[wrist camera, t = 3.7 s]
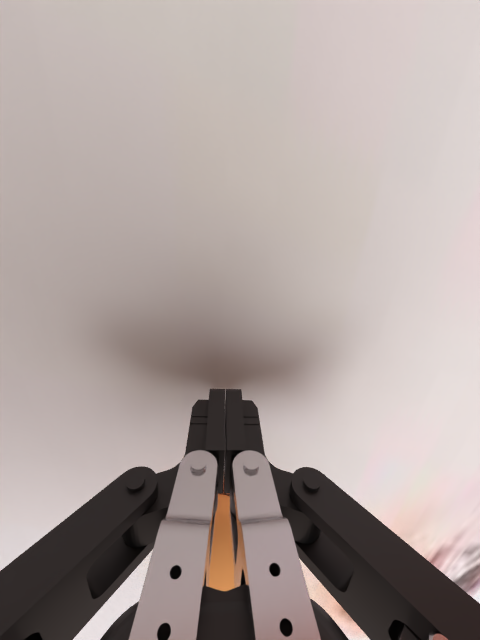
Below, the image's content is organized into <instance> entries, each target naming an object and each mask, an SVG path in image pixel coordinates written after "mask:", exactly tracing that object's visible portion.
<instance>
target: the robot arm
mask: <svg viewBox="0 0 480 640" xmlns="http://www.w3.org/2000/svg"><path fill="white" fill-rule="evenodd" d="M223 476H224V493H230V509H229V518H230V530H231V541H232V553H233V564H234V589H231V590H228V591H220V590H217V589H214V588H211V587H209V574H210V564H211V554H212V544H213V534H214V525H215V514H216V511H217V506H218V493H223ZM152 549H153V552H152V556H151V559H150V563H149V567H148V570H147V574H146V578H145V581H144V585H143V589H142V593H141V596H140V600H139V602H137V603H136V604H134V605H133V606H131V607H130V608H129V609H128V610H127V611H125V612H124V613H123V614H122V615H121V616H120V617H119V618H118V619H117V620H116V621H115V622H114V623H113V624H112V625H111V627H110V628H109V629H108V630H107V632H106V633H105V634H104V635H103V637H102V638H101V639H100V640H349V639H348V638H347V637H346V636H345V634H344V633H343V632H342V630H341V629H340V628H339V627H338V625H337V624H336V623H335V621H334V620H333V619H332V618H331V617H330V615H329V614H328V613H327V612H326V611H325V610H324V609H323V608H322V607H321V606H319V605H318V604H317V603H316V602H315V601H313V600H312V599H310V597H309V593H308V590H307V586H306V582H305V578H304V575H303V571H302V567H301V564H300V560H299V558H300V559H301V561H302V562H303V563H304V564H305V565H306V566H307V567H308V569H309V570H310V571H311V572H312V573H313V574H314V575H315V577H316V578H317V579H318V580H319V581H320V582H321V583H322V585H323V586H324V587H325V588H326V589H327V590H328V591H329V593H330V594H331V595H332V596H333V597H334V598H335V599H336V601H337V602H338V603H339V604H340V605H341V606H342V607H343V609H344V610H345V611H346V612H347V613H348V614H349V615H350V617H351V618H352V619H353V620H354V621H355V622H356V623H357V625H358V626H359V627H360V628H361V629H362V630H363V631H364V633H365V634H366V635H367V636H368V637H369V638H370V640H480V604H479V603H478V602H477V601H476V600H474V599H473V598H472V597H471V596H470V595H468V594H467V593H466V592H465V591H464V590H462V589H461V588H460V587H459V586H458V585H456V584H455V583H454V582H453V581H452V580H450V579H449V578H448V577H447V576H445V575H444V574H443V573H442V572H441V571H439V570H438V569H437V568H436V567H435V566H433V565H432V564H431V563H430V562H429V561H427V560H426V559H425V558H424V557H423V556H421V555H420V554H419V553H418V552H417V551H415V550H414V549H413V548H412V547H411V546H409V545H408V544H407V543H406V542H404V541H403V540H402V539H401V538H400V537H398V536H397V535H396V534H395V533H394V532H392V531H391V530H390V529H389V528H388V527H386V526H385V525H384V524H383V523H382V522H380V521H379V520H378V519H377V518H376V517H374V516H373V515H372V514H371V513H370V512H368V511H367V510H366V509H365V508H363V507H362V506H361V505H360V504H359V503H357V502H356V501H355V500H354V499H353V498H351V497H350V496H349V495H348V494H347V493H345V492H344V491H343V490H342V489H341V488H339V487H338V486H337V485H336V484H335V483H333V482H332V481H331V480H330V479H329V478H327V477H326V476H325V475H324V474H322V473H321V472H320V471H318V470H316V469H314V468H310V467H303V468H299V469H297V470H296V471H295V472H294V473H289V472H286V471H283V470H280V469H278V468H276V467H274V466H273V465H272V464H271V463H270V462H269V461H268V460H267V458H266V456H265V453H264V447H263V441H262V434H261V428H260V421H259V415H258V408H257V407H256V405H255V404H254V403H253V401H252V400H242V393H241V389H226V400H225V389H210V393H209V400H198V401H197V402H196V403H195V405H194V406H193V407H192V414H191V420H190V427H189V433H188V440H187V446H186V452H185V456H184V458H183V459H182V460H181V462H180V463H179V464H178V465H177V466H175V467H174V468H172V469H170V470H167V471H164V472H160V473H157V474H155V472H154V471H153V470H152V469H150V468H148V467H135V468H132V469H130V470H128V471H126V472H125V473H123V474H122V475H121V476H119V477H118V478H117V479H116V480H114V481H113V482H112V483H111V484H109V485H108V486H107V487H106V488H104V489H103V490H102V491H101V492H99V493H98V494H97V495H95V496H94V497H93V498H92V499H90V500H89V501H88V502H87V503H85V504H84V505H83V506H82V507H80V508H79V509H78V510H77V511H75V512H74V513H73V514H72V515H70V516H69V517H68V518H67V519H65V520H64V521H63V522H61V523H60V524H59V525H58V526H56V527H55V528H54V529H53V530H51V531H50V532H49V533H48V534H46V535H45V536H44V537H43V538H41V539H40V540H39V541H38V542H36V543H35V544H34V545H33V546H31V547H30V548H29V549H27V550H26V551H25V552H24V553H22V554H21V555H20V556H19V557H17V558H16V559H15V560H14V561H12V562H11V563H10V564H9V565H7V566H6V567H5V568H4V569H2V570H1V571H0V640H73V638H74V637H75V636H76V635H77V634H78V633H79V632H80V631H81V629H82V628H83V627H84V626H85V625H86V624H87V623H88V622H89V620H90V619H91V618H92V617H93V616H94V615H95V614H96V613H97V611H98V610H99V609H100V608H101V607H102V606H103V605H104V604H105V602H106V601H107V600H108V599H109V598H110V597H111V596H112V595H113V593H114V592H115V591H116V590H117V589H118V588H119V587H120V585H121V584H122V583H123V582H124V581H125V580H126V579H127V578H128V576H129V575H130V574H131V573H132V572H133V571H134V570H135V569H136V567H137V566H138V565H139V564H140V563H141V562H142V561H143V560H144V558H145V557H146V556H147V555H148V554H149V553H150V552H151V551H152Z"/></svg>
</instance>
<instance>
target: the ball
mask: <svg viewBox="0 0 480 640" xmlns="http://www.w3.org/2000/svg"><path fill="white" fill-rule="evenodd" d="M229 509H230V496H227V495H223V494H218V506H217V511H216V514H215V525H214V534H213V544H212V554H211V564H210V574H209V587H211V588H214V589H217V590H220V591H228V590H231V589H234V564H233V553H232V541H231V530H230V518H229Z"/></svg>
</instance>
